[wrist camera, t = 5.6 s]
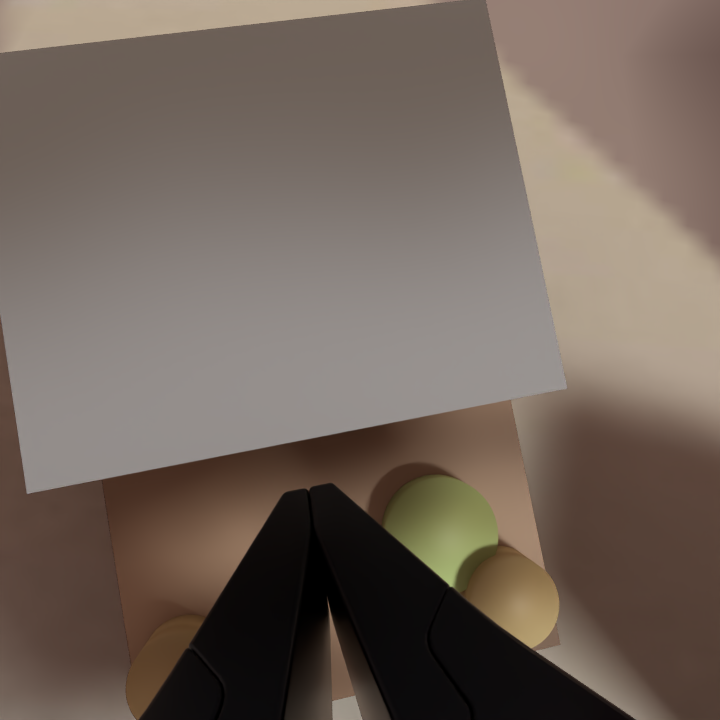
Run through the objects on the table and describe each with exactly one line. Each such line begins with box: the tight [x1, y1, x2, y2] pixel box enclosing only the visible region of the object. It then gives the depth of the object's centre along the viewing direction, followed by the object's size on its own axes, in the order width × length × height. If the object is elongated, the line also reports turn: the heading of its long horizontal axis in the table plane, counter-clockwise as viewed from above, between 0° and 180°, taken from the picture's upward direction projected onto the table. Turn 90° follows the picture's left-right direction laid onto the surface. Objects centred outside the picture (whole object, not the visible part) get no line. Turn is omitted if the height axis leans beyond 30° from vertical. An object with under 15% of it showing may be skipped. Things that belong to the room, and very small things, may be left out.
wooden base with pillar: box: [0, 0, 567, 720], centre depth 11 cm, size 13×12×13 cm
